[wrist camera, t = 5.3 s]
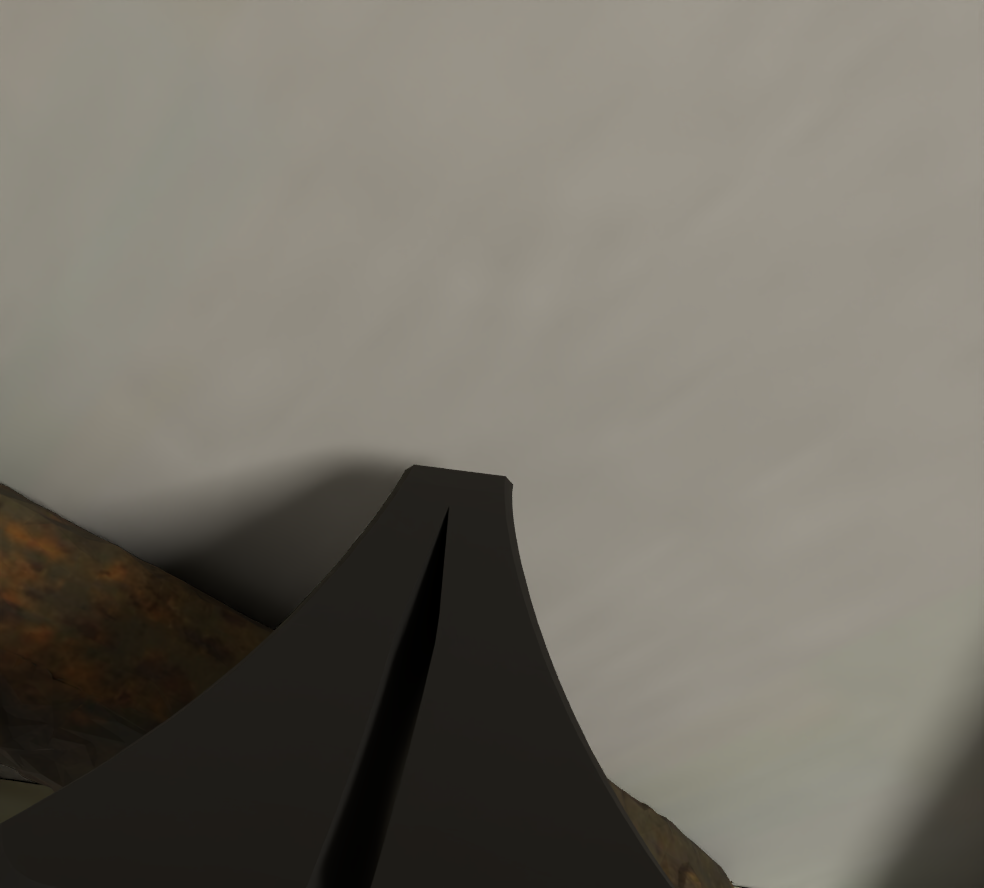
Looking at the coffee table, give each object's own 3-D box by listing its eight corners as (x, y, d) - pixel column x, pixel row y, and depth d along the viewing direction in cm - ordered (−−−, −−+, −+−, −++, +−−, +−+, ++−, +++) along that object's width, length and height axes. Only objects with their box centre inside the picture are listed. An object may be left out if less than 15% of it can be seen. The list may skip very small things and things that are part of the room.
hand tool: (-195, 482, 16) (-438, 706, 12) (-141, 323, 14) (-415, 538, 10) (643, 909, 22) (647, 1151, 18) (775, 843, 19) (811, 1103, 16)
